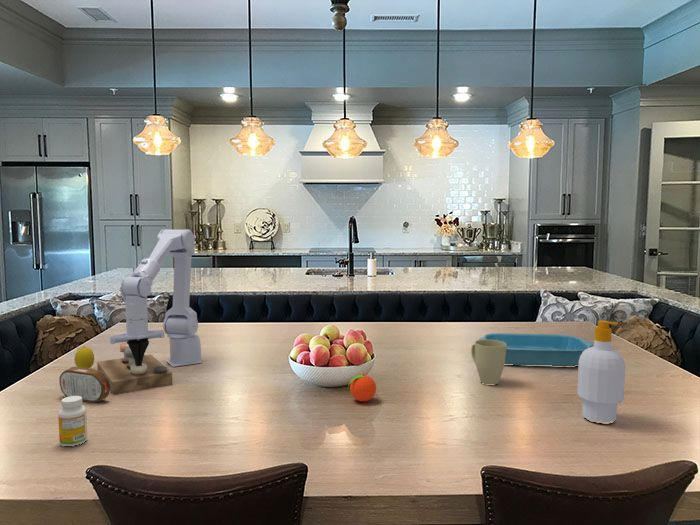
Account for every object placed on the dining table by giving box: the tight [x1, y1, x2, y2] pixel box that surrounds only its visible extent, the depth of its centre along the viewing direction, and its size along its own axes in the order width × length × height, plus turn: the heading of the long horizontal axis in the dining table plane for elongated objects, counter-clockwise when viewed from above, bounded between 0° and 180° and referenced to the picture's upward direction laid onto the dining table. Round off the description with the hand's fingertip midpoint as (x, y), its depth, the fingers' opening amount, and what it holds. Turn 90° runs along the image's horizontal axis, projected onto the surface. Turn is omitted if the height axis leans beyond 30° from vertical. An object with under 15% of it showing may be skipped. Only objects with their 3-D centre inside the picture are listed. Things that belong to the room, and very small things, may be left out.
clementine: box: [347, 374, 377, 403], centre depth 145 cm, size 8×7×7 cm
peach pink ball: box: [119, 342, 129, 362], centre depth 169 cm, size 4×4×5 cm
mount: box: [96, 353, 173, 395], centre depth 163 cm, size 16×24×5 cm, turn 34°
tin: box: [59, 366, 111, 403], centre depth 145 cm, size 15×3×8 cm, turn 71°
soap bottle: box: [576, 319, 626, 422], centre depth 132 cm, size 10×10×24 cm
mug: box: [470, 339, 507, 385], centre depth 161 cm, size 11×10×12 cm
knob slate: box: [125, 348, 135, 367], centre depth 163 cm, size 4×4×5 cm
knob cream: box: [130, 363, 147, 375], centre depth 157 cm, size 4×4×5 cm
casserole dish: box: [478, 332, 594, 366], centre depth 185 cm, size 37×22×7 cm, turn 83°
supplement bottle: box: [57, 396, 88, 447], centre depth 118 cm, size 5×5×10 cm
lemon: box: [74, 345, 95, 369], centre depth 170 cm, size 6×6×8 cm
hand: (138, 365), depth 157 cm, fingers closed
